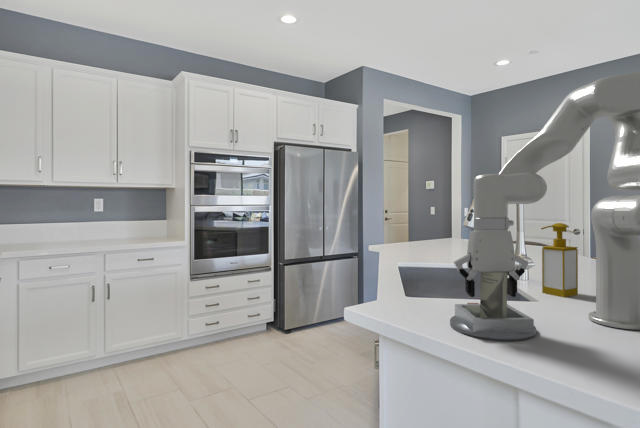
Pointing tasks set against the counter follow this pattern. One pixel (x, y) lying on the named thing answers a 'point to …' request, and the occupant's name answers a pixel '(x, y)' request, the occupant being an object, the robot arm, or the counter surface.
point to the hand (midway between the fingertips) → (491, 295)
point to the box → (493, 295)
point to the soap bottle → (559, 266)
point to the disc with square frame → (492, 324)
